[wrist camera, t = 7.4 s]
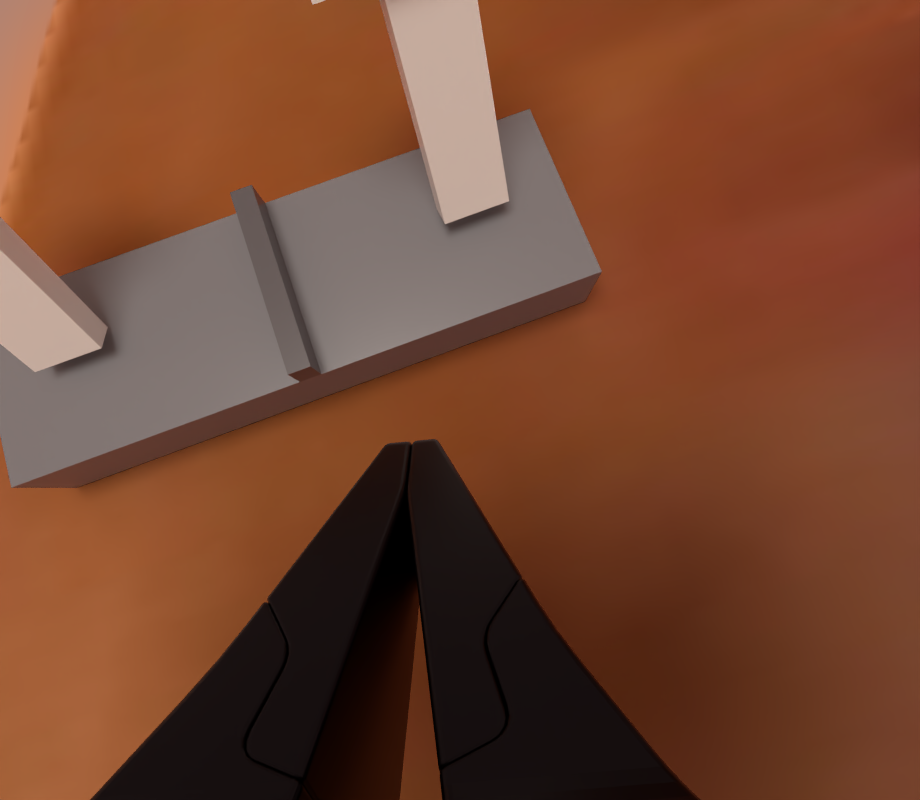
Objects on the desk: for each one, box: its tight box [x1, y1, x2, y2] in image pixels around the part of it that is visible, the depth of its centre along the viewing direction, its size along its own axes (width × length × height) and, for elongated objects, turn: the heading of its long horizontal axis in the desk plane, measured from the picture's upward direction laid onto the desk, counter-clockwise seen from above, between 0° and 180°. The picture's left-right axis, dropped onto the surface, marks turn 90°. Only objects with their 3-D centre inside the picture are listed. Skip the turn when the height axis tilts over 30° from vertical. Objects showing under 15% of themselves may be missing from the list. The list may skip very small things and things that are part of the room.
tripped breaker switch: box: [311, 0, 509, 224], centre depth 15 cm, size 2×6×9 cm
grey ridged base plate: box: [0, 109, 602, 488], centre depth 20 cm, size 7×22×4 cm, turn 110°
